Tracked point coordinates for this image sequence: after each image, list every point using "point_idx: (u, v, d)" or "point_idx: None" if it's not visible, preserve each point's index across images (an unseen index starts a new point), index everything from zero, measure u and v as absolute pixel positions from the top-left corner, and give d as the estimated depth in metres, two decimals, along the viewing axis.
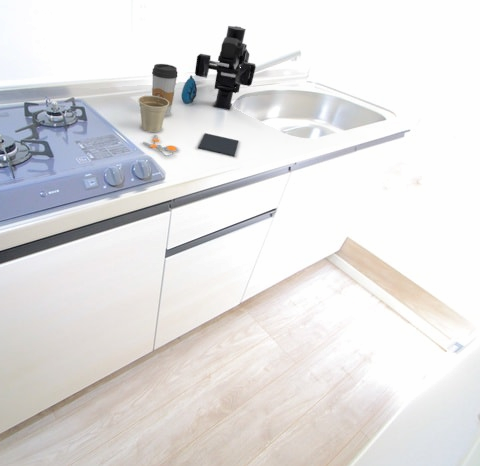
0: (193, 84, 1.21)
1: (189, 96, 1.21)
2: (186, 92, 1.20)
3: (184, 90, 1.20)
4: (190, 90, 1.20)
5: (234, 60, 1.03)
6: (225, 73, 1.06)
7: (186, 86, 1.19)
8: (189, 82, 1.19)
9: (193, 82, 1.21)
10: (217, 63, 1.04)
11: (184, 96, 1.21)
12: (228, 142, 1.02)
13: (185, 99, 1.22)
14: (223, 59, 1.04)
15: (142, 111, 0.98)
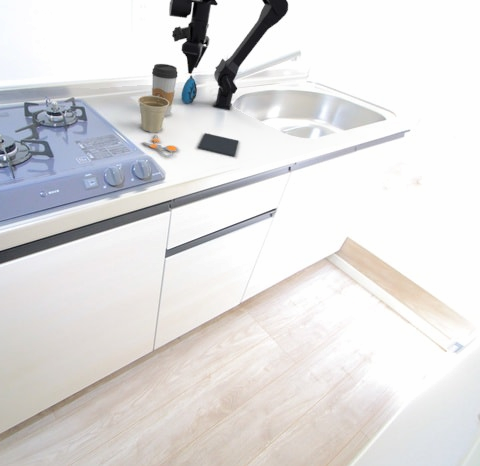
0: (193, 84, 1.21)
1: (189, 96, 1.21)
2: (186, 92, 1.20)
3: (184, 90, 1.20)
4: (190, 90, 1.20)
5: (187, 40, 1.11)
6: None
7: (186, 86, 1.19)
8: (189, 82, 1.19)
9: (193, 82, 1.21)
10: None
11: (184, 96, 1.21)
12: (228, 142, 1.02)
13: (185, 99, 1.22)
14: None
15: (142, 111, 0.98)
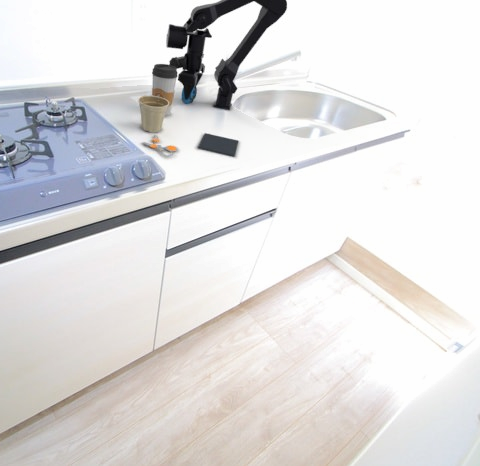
0: None
1: None
2: None
3: None
4: None
5: None
6: None
7: None
8: None
9: None
10: None
11: (184, 96, 1.21)
12: (228, 142, 1.02)
13: None
14: None
15: (142, 111, 0.98)
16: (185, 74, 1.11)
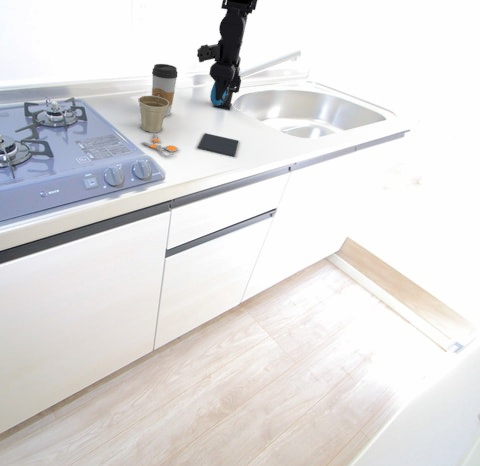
0: None
1: None
2: None
3: None
4: None
5: (215, 60, 0.89)
6: None
7: None
8: None
9: None
10: None
11: (214, 96, 0.93)
12: (228, 142, 1.02)
13: None
14: None
15: (142, 111, 0.98)
16: (220, 66, 0.84)
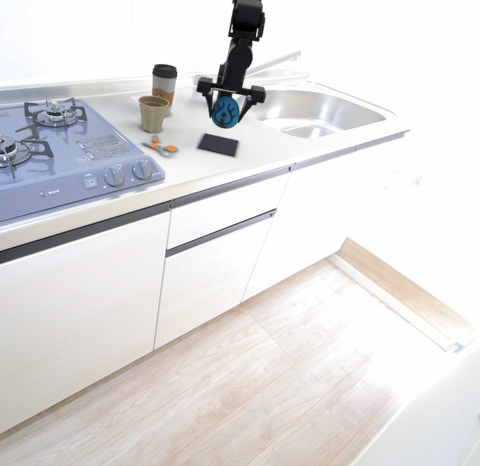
0: (225, 104, 0.92)
1: (214, 115, 0.95)
2: (213, 109, 0.95)
3: None
4: (217, 108, 0.93)
5: None
6: None
7: None
8: (221, 99, 0.92)
9: (227, 102, 0.92)
10: None
11: None
12: (228, 142, 1.02)
13: (211, 117, 0.96)
14: None
15: (142, 111, 0.98)
16: (199, 79, 0.90)
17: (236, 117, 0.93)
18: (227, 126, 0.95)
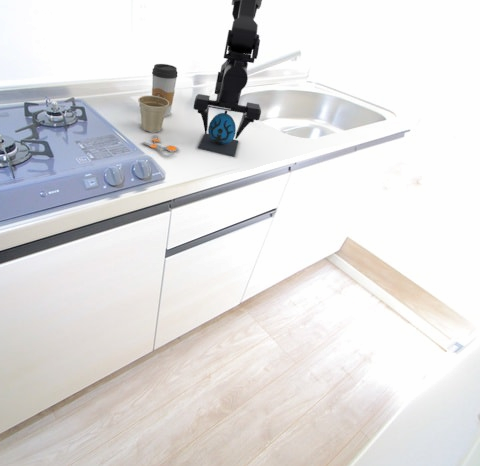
0: (222, 121, 0.95)
1: (211, 131, 0.98)
2: (209, 125, 0.98)
3: None
4: (213, 125, 0.96)
5: None
6: None
7: (213, 118, 0.97)
8: (217, 116, 0.95)
9: (223, 119, 0.95)
10: None
11: (208, 129, 0.99)
12: None
13: (208, 132, 0.99)
14: None
15: (142, 111, 0.98)
16: (196, 96, 0.93)
17: (232, 133, 0.96)
18: (223, 141, 0.98)
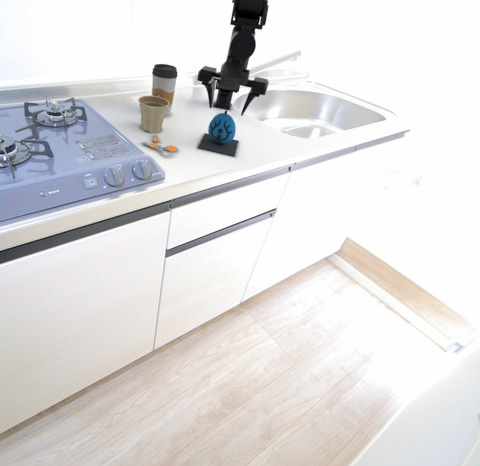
0: (222, 121, 0.95)
1: (211, 131, 0.98)
2: (209, 125, 0.98)
3: None
4: (213, 125, 0.96)
5: None
6: None
7: (213, 118, 0.97)
8: (217, 116, 0.95)
9: (223, 119, 0.95)
10: None
11: (208, 129, 0.99)
12: None
13: (208, 132, 0.99)
14: None
15: (142, 111, 0.98)
16: (267, 83, 0.86)
17: (232, 133, 0.96)
18: (223, 141, 0.98)
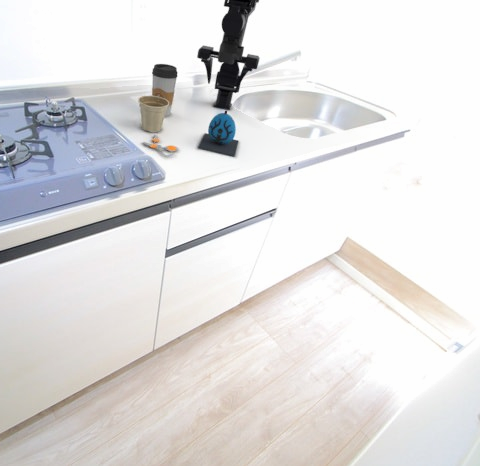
0: (222, 121, 0.95)
1: (211, 131, 0.98)
2: (209, 125, 0.98)
3: None
4: (213, 125, 0.96)
5: None
6: None
7: (213, 118, 0.97)
8: (217, 116, 0.95)
9: (223, 119, 0.95)
10: None
11: (208, 129, 0.99)
12: None
13: (208, 132, 0.99)
14: None
15: (142, 111, 0.98)
16: (258, 59, 0.99)
17: (232, 133, 0.96)
18: (223, 141, 0.98)
